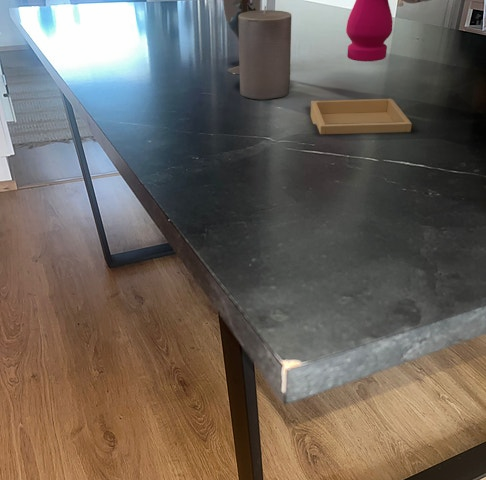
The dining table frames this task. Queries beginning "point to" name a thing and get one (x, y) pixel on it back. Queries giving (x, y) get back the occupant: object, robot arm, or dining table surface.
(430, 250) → the dining table surface
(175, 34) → the dining table surface
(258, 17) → the pillar candle
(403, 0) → the robot arm
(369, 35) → the pepper mill
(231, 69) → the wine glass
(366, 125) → the tray
